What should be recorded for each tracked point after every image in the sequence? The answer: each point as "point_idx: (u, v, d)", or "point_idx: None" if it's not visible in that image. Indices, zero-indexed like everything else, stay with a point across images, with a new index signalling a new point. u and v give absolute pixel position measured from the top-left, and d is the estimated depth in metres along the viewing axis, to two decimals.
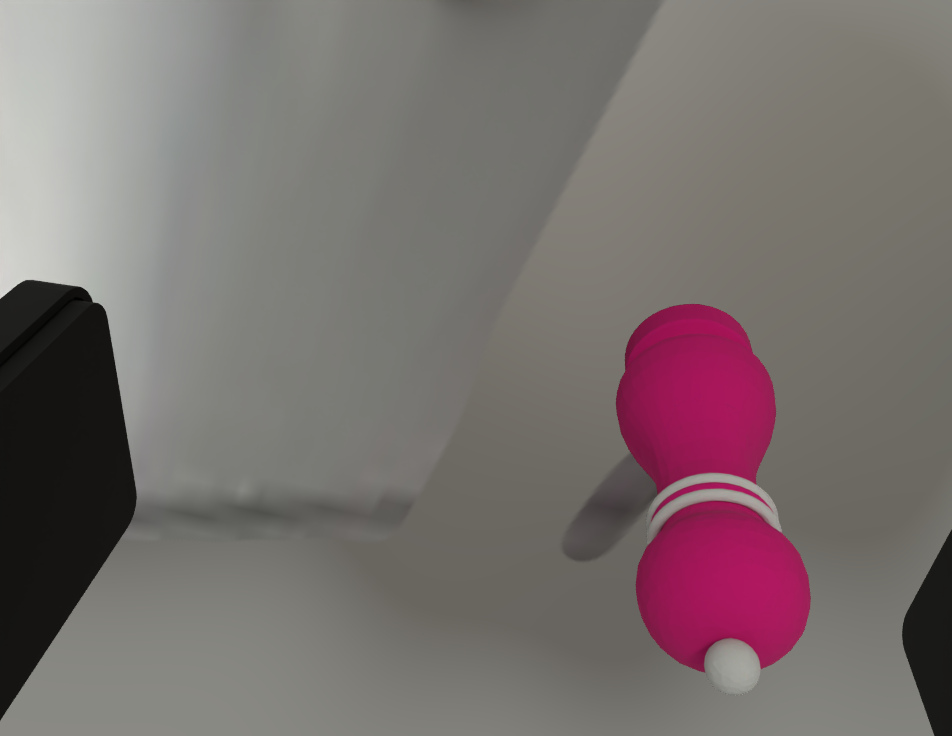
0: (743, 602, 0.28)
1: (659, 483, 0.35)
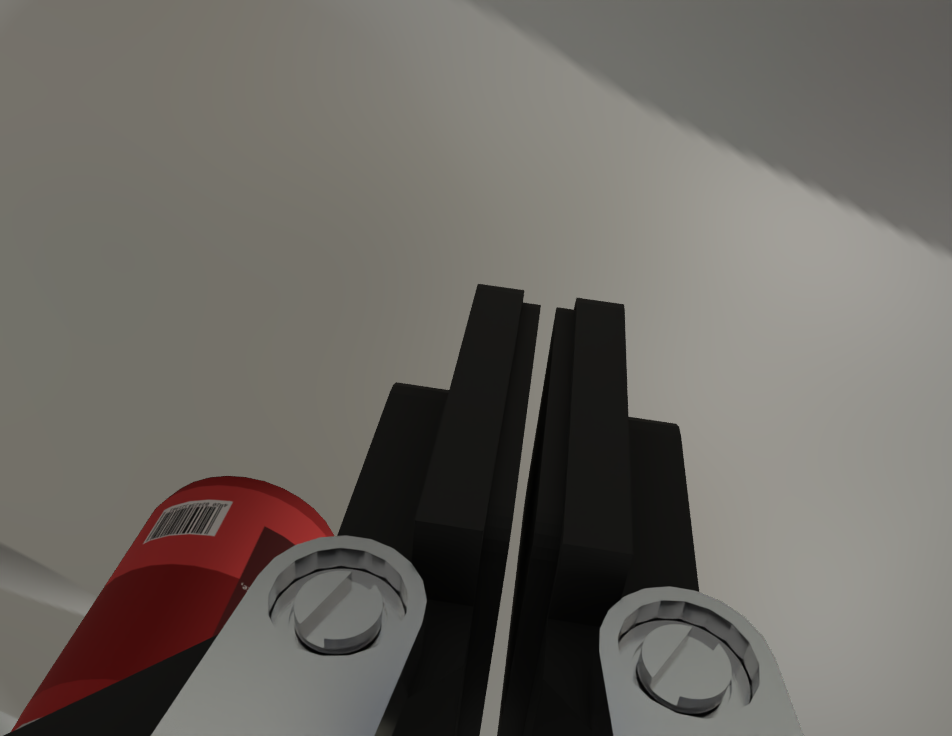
0: None
1: None
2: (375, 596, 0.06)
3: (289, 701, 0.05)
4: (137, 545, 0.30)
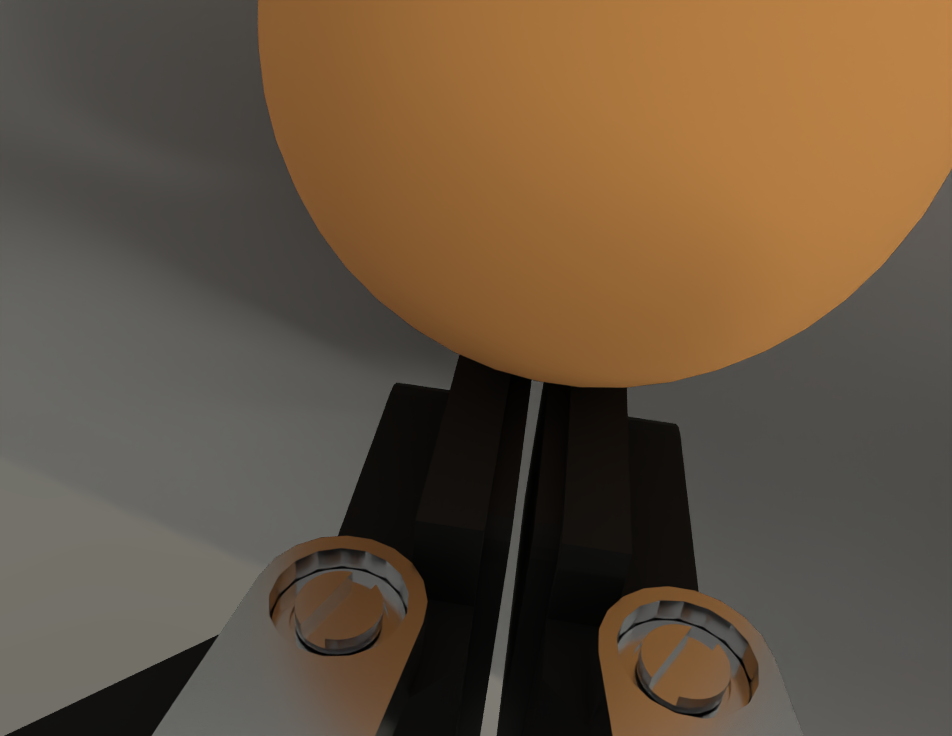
0: None
1: None
2: (376, 596, 0.06)
3: (290, 701, 0.05)
4: None
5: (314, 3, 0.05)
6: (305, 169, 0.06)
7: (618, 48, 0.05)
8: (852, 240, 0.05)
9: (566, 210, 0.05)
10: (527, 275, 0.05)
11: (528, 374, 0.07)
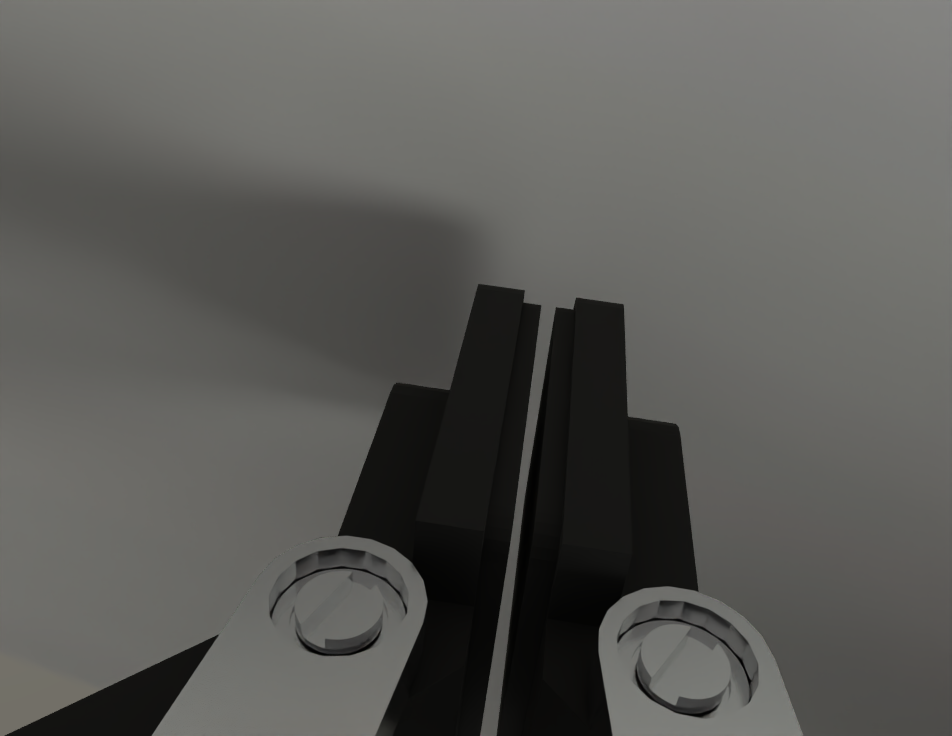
0: None
1: None
2: (376, 596, 0.06)
3: (290, 701, 0.05)
4: None
5: None
6: None
7: None
8: None
9: None
10: None
11: None
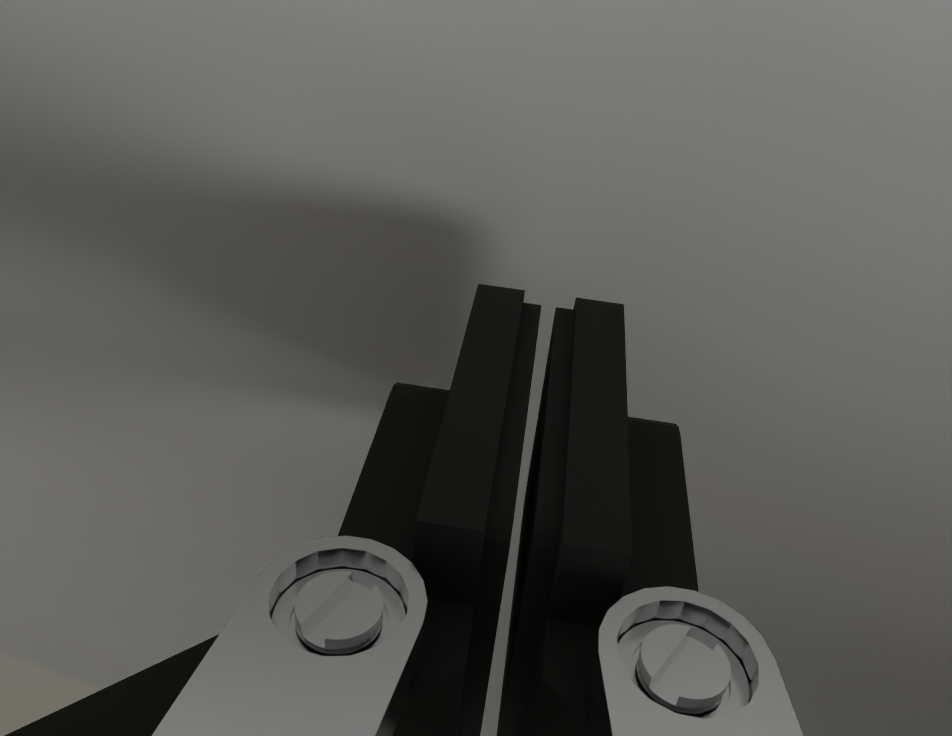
0: None
1: None
2: (376, 596, 0.06)
3: (290, 701, 0.05)
4: None
5: None
6: None
7: None
8: None
9: None
10: None
11: None
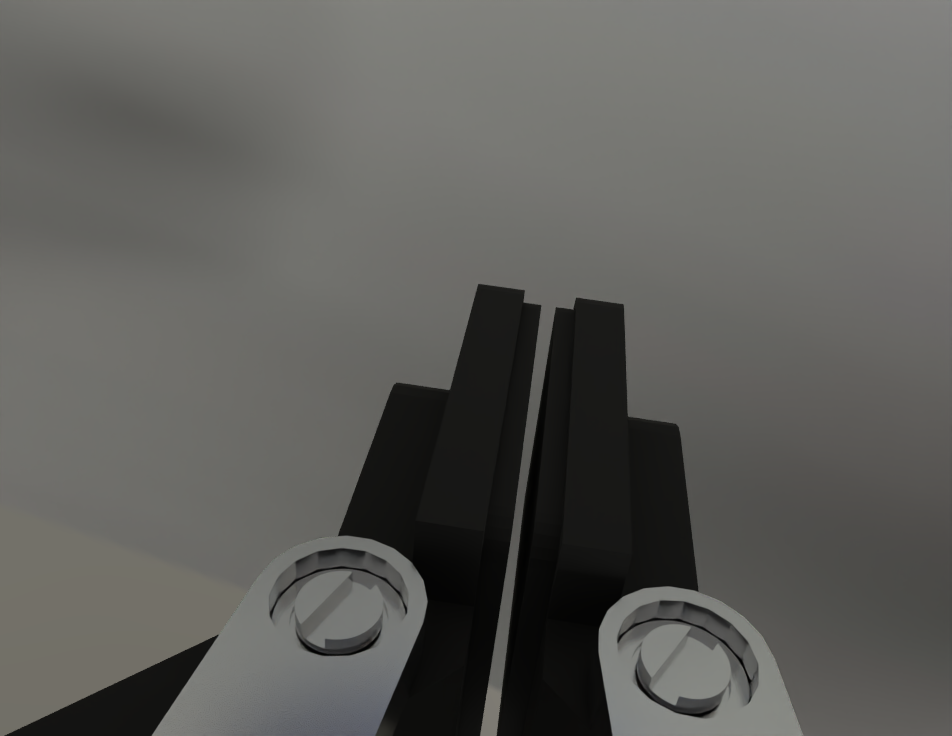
0: None
1: None
2: (376, 596, 0.06)
3: (289, 701, 0.05)
4: None
5: None
6: None
7: None
8: None
9: None
10: None
11: None
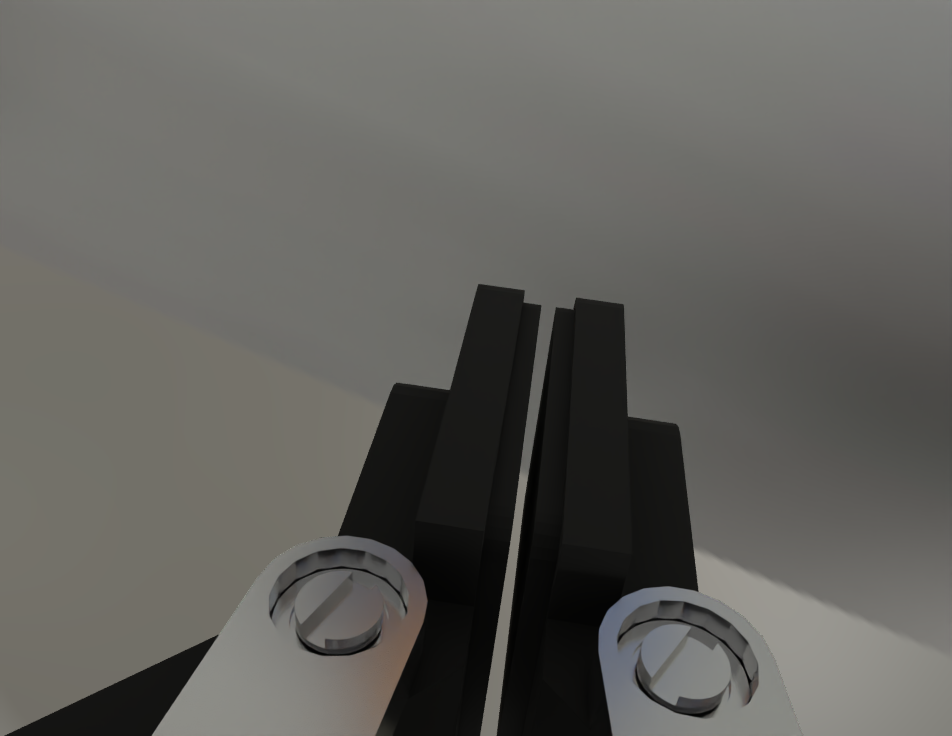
0: None
1: None
2: (376, 596, 0.06)
3: (290, 701, 0.05)
4: None
5: None
6: None
7: None
8: None
9: None
10: None
11: None
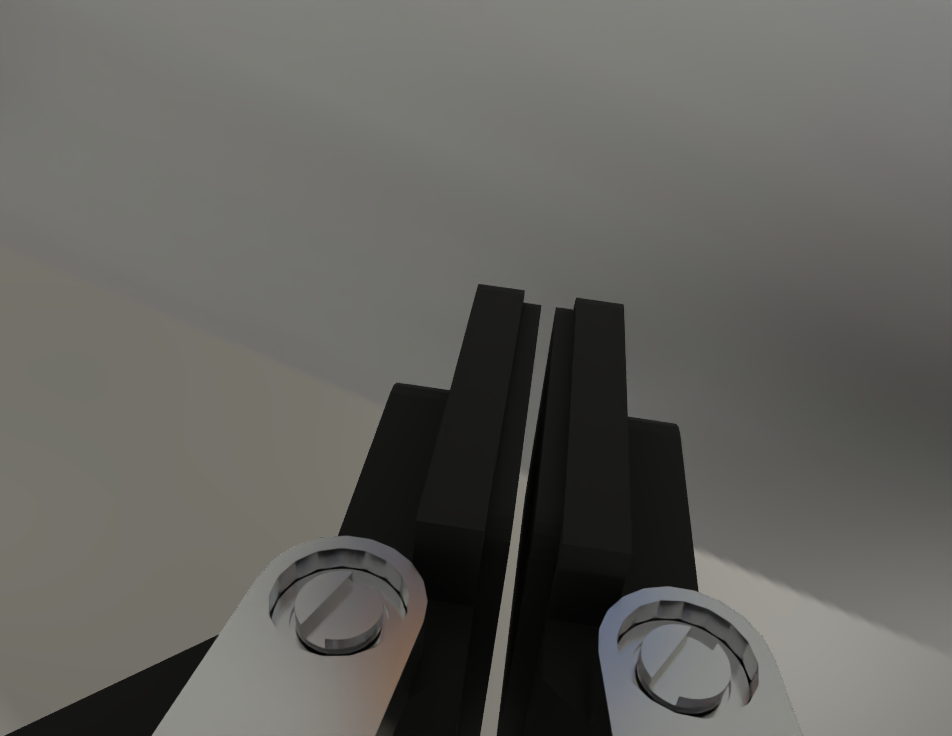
0: None
1: None
2: (376, 596, 0.06)
3: (290, 701, 0.05)
4: None
5: None
6: None
7: None
8: None
9: None
10: None
11: None
